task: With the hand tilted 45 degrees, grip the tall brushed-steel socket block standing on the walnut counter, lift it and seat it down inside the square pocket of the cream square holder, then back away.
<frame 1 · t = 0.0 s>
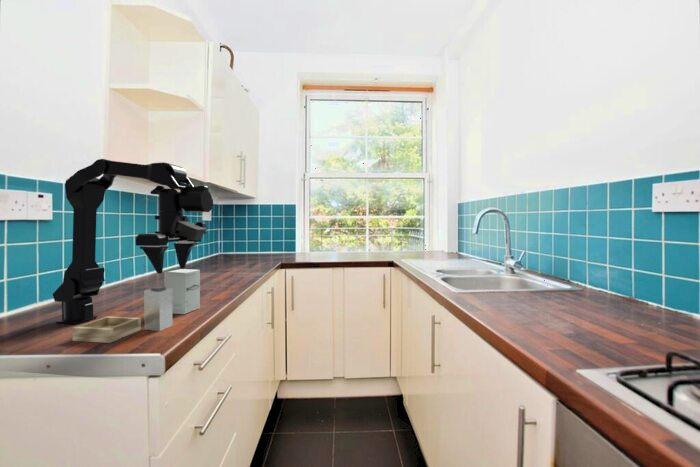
hand: (171, 270, 88), 15 cm above the counter, tool pointing down, fingers open, 9 cm apart
socket block: (158, 327, 87), on the counter
supplement box: (182, 311, 103), on the counter
cream square holder: (108, 334, 81), on the counter
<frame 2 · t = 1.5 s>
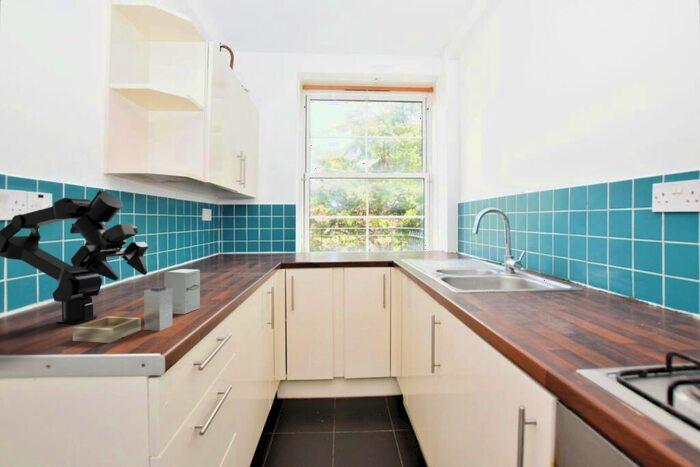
hand: (132, 276, 88), 13 cm above the counter, tool tilted 45°, fingers open, 9 cm apart
nothing on the counter moved.
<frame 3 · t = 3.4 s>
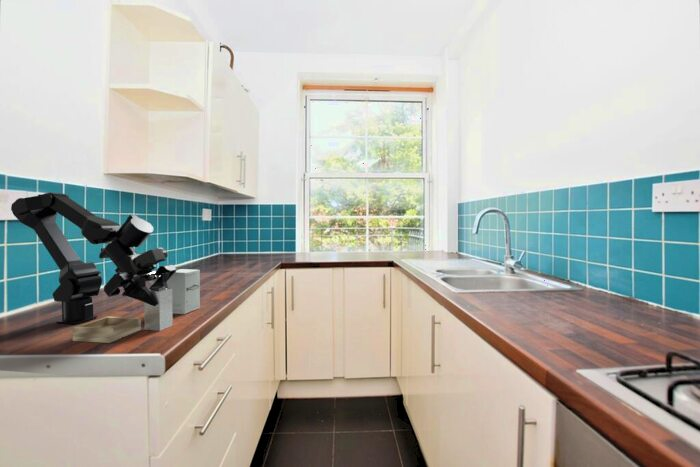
hand: (163, 302, 86), 7 cm above the counter, tool tilted 45°, fingers closed on socket block, 4 cm apart
socket block: (158, 327, 87), on the counter, touching gripper
everything else where it was.
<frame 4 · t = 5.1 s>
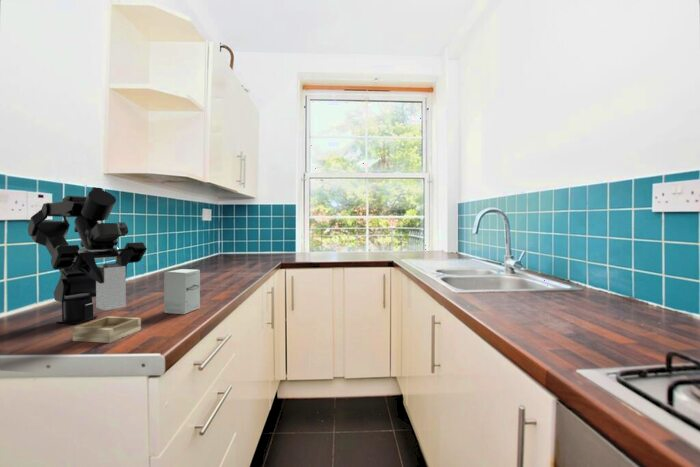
hand: (113, 280, 80), 13 cm above the counter, tool tilted 45°, fingers closed on socket block, 4 cm apart
socket block: (111, 307, 81), point 7 cm above the counter, touching gripper
everything else where it was.
when the fingers open (8 cm above the counter, at t = 6.7 s): socket block stays where it is, resting on cream square holder.
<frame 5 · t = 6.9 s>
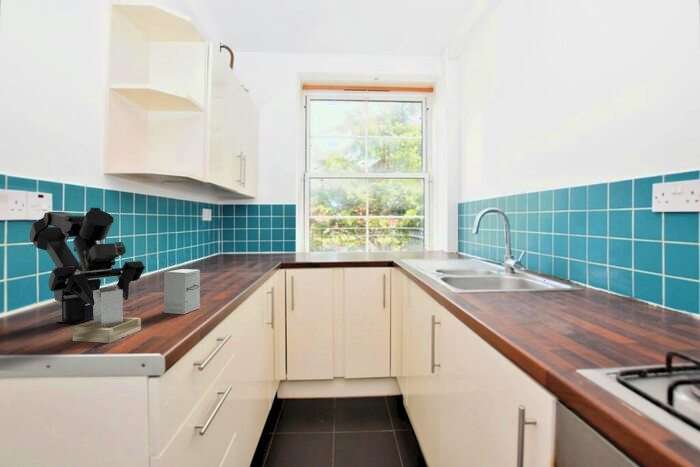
hand: (110, 301, 80), 8 cm above the counter, tool tilted 45°, fingers open, 7 cm apart
socket block: (108, 330, 81), point 1 cm above the counter, touching cream square holder
everything else where it was.
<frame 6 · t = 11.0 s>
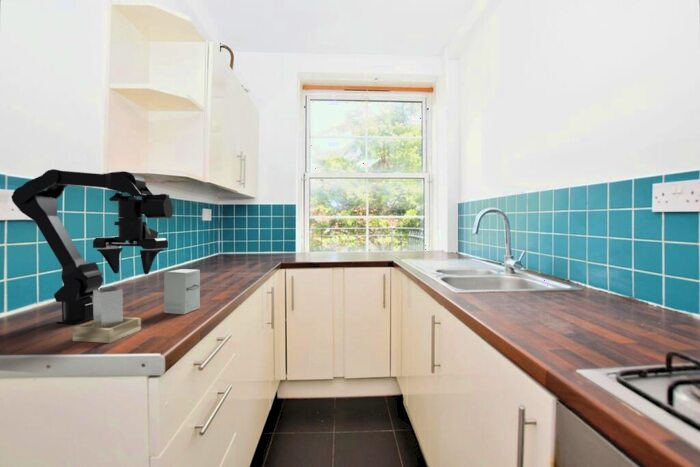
hand: (131, 273, 93), 13 cm above the counter, tool pointing down, fingers open, 9 cm apart
nothing on the counter moved.
at the end: socket block 0.0 cm off-centre on the cream square holder, point 1.0 cm above the cream square holder's base; socket block tilted 0°; the gripper is holding nothing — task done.
